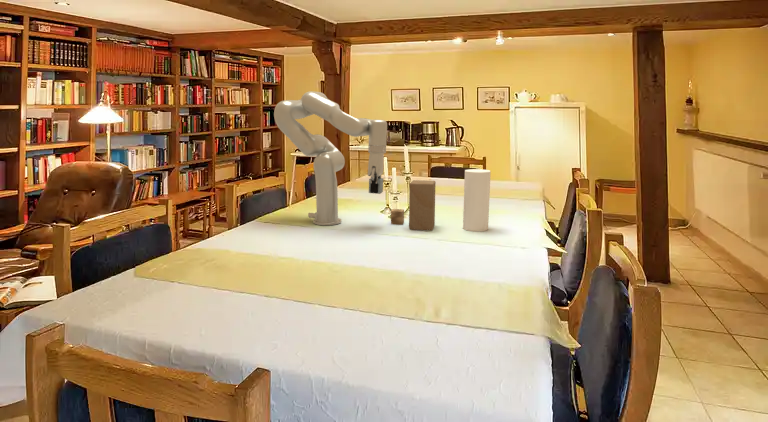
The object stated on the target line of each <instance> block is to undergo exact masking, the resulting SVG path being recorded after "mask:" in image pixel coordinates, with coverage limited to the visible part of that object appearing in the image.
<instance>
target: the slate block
mask: <svg viewBox="0 0 768 422" xmlns="http://www.w3.org/2000/svg"><path fill="white" fill-rule="evenodd" d="M377 184H378V193H374V194H375V195H376V194H378V195H381V194H383V192H384V189H383V188H384V178H382V177H381V178H378V183H377ZM370 186H371V177H370V178H368V193H369V194H372V193H371V192H370Z"/></svg>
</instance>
